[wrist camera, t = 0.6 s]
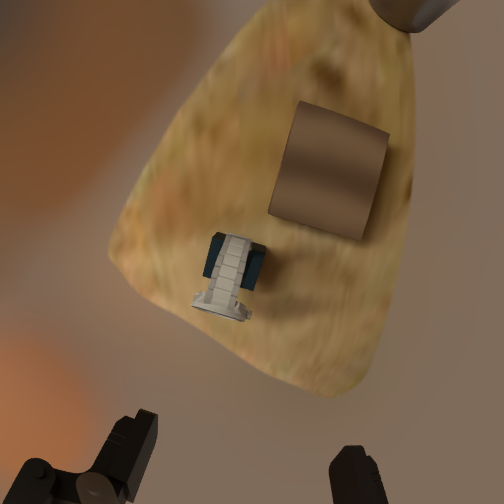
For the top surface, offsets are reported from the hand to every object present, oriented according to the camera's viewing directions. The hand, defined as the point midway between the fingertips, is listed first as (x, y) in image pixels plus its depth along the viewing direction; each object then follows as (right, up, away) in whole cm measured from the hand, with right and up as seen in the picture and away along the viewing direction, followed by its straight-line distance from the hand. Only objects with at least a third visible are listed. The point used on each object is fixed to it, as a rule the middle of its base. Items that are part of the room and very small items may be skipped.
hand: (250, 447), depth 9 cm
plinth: (+8, +17, +19) cm, 27 cm away
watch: (-2, +7, +22) cm, 24 cm away
